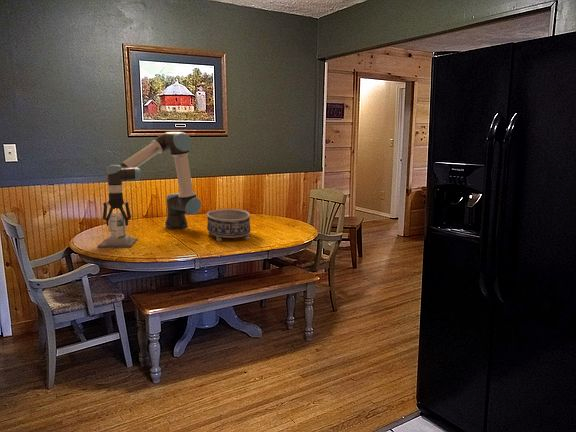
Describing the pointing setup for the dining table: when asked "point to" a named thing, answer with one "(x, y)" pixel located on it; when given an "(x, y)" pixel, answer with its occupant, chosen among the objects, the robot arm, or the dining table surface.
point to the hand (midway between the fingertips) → (117, 231)
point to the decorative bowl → (229, 223)
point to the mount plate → (118, 242)
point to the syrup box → (117, 225)
